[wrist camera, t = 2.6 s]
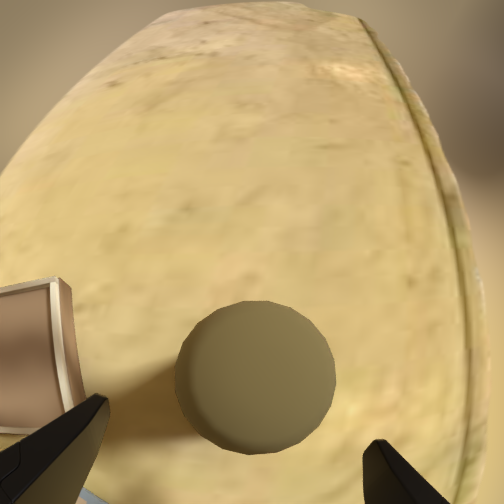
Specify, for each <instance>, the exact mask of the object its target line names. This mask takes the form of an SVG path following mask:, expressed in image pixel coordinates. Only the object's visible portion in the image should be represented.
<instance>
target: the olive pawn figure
mask: <svg viewBox="0 0 504 504" xmlns="http://www.w3.org/2000/svg"><path fill="white" fill-rule="evenodd" d="M335 386H336V374H335V362H334V358H333V355H332V353H331V351H330V348H329V346H328V344H327V341H326V339H325V337H324V336H323V335H322V334H321V333H320V331H319V330H318V329H317V328H316V327H315V325H314V324H313V323H312V322H311V321H310V320H309V319H307V318H306V317H304V316H303V315H301V314H300V313H298V312H297V311H295V310H294V309H292V308H290V307H287V306H283V305H280V304H276V303H273V302H270V301H242V302H239V303H236V304H233V305H230V306H226V307H223V308H220V309H217V310H216V311H214V312H213V313H212V314H210V315H209V316H207V317H206V318H204V319H203V320H202V321H200V322H199V323H197V325H196V326H195V327H194V329H193V330H192V331H191V333H190V334H189V335H188V337H187V338H186V339H185V341H184V342H183V344H182V347H181V350H180V353H179V356H178V359H177V362H176V365H175V392H176V395H177V398H178V400H179V403H180V406H181V408H182V411H183V414H184V416H185V417H186V418H187V420H188V421H189V422H190V423H191V424H192V426H193V427H194V428H195V429H196V431H197V432H198V433H199V434H200V435H201V436H202V437H204V438H206V439H207V440H209V441H210V442H212V443H214V444H215V445H217V446H219V447H220V448H222V449H225V450H229V451H233V452H237V453H242V454H246V455H255V454H267V453H276V452H279V451H282V450H284V449H286V448H289V447H291V446H293V445H296V444H298V443H300V442H301V441H302V440H304V439H305V438H306V437H307V436H308V435H309V434H311V433H312V432H313V431H314V430H315V429H316V428H317V427H318V426H319V425H320V423H321V422H322V420H323V418H324V417H325V415H326V413H327V412H328V410H329V408H330V407H331V404H332V400H333V395H334V391H335Z"/></svg>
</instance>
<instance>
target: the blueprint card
mask: <svg viewBox="0 0 504 504" xmlns="http://www.w3.org/2000/svg"><path fill="white" fill-rule="evenodd" d="M76 504H108V503H107V502H105V501H103V500H102V499H100V498H99V497H97V496H96V495H94V494H92V493H91V492H90V491H88V490H87V489H85V488H84V487H83V488H82V490H81V492H80V494H79V497H78V499H77V501H76Z"/></svg>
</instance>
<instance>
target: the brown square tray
mask: <svg viewBox="0 0 504 504" xmlns="http://www.w3.org/2000/svg"><path fill="white" fill-rule="evenodd" d="M84 400H86V397H85V392H84V387H83V382H82V376H81V371H80V365H79V358H78V352H77V345H76V337H75V328H74V318H73V307H72V292H71V287H70V286H69V285H68V284H66V283H65V282H64V281H63V280H62V279H61V278H57V277H56V276H52V277H47V278H42V279H38V280H33V281H28V282H24V283H19V284H15V285H10V286H5V287H1V288H0V433H5V434H19V435H30V434H32V433H33V432H35V431H37V430H38V429H40V428H42V427H43V426H45V425H46V424H48V423H50V422H51V421H53V420H54V419H56V418H58V417H59V416H61V415H62V414H64V413H65V412H67V411H69V410H70V409H72V408H73V407H75V406H76V405H78V404H80V403H81V402H83V401H84Z"/></svg>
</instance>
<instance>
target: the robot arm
mask: <svg viewBox="0 0 504 504" xmlns="http://www.w3.org/2000/svg"><path fill="white" fill-rule="evenodd" d="M109 417H110V408H109V401H108V398H107V397H106V396H103V395H101V394H98V393H96V394H93V395H92V396H90V397H89V398H87V399H86V400H84V401H83V402H81V403H80V404H78V405H76V406H75V407H73V408H72V409H70V410H69V411H67V412H65V413H64V414H62V415H61V416H59V417H58V418H56V419H54V420H53V421H51V422H50V423H48V424H46V425H45V426H43V427H42V428H40V429H38V430H37V431H35V432H33V433H32V434H30V435H29V436H27V437H25V438H24V439H22V440H20V442H17V443H15V444H14V445H12V446H10V447H8V448H7V449H5V450H3V451H1V452H0V504H76V501H77V499H78V497H79V494H80V492H81V490H82V488H83V485H84V483H85V481H86V479H87V476H88V474H89V472H90V470H91V468H92V465H93V463H94V461H95V459H96V457H97V454H98V451H99V448H100V445H101V442H102V439H103V436H104V433H105V429H106V426H107V423H108V420H109ZM362 459H363V492H364V501H365V504H450V503H449V502H448V501H447V500H446V499H445V498H444V497H442V495H441V494H440V493H439V492H438V491H436V490H435V489H434V488H433V487H432V486H431V485H430V484H429V483H428V482H427V481H426V480H425V479H424V478H423V477H422V476H421V475H420V474H419V473H418V472H417V471H416V470H415V469H414V468H413V467H412V466H411V465H410V464H409V463H408V462H407V461H406V460H405V459H404V458H403V457H402V456H401V455H400V454H399V453H398V452H397V451H396V450H395V449H394V448H393V447H392V446H391V445H390V444H389V443H388V442H387V441H386V440H385V439H376V440H374V441H373V442H372V443H371V444H370V445H369V446H368V447H367V449H366V450H365V451H364V453H363V457H362Z"/></svg>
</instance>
